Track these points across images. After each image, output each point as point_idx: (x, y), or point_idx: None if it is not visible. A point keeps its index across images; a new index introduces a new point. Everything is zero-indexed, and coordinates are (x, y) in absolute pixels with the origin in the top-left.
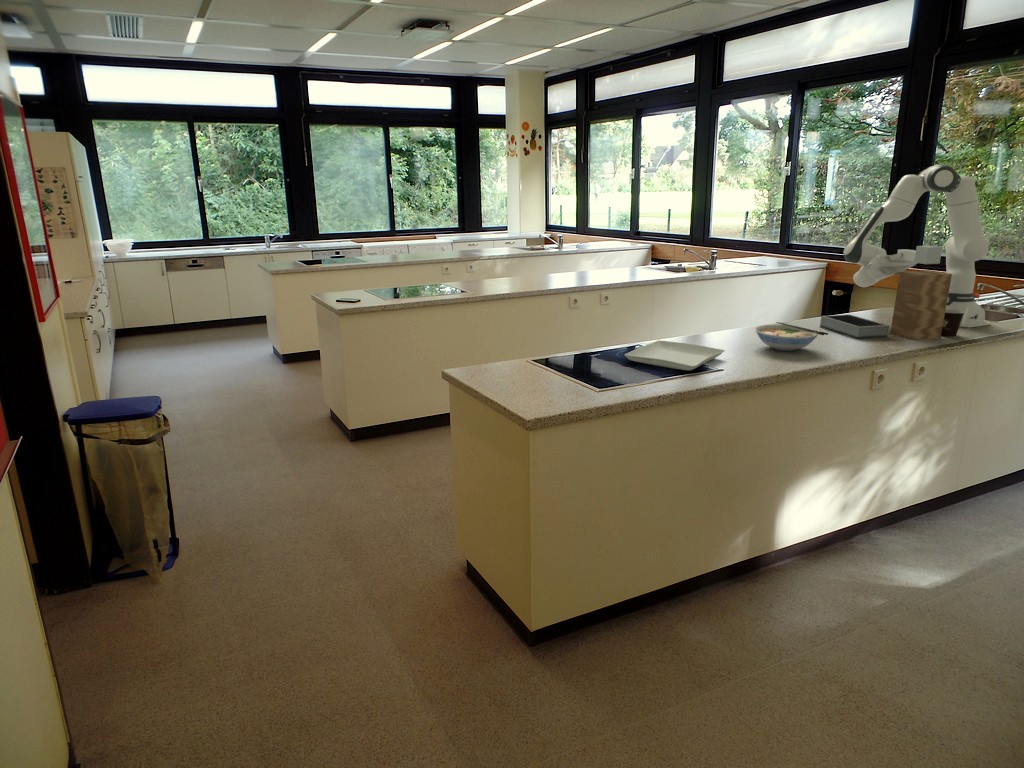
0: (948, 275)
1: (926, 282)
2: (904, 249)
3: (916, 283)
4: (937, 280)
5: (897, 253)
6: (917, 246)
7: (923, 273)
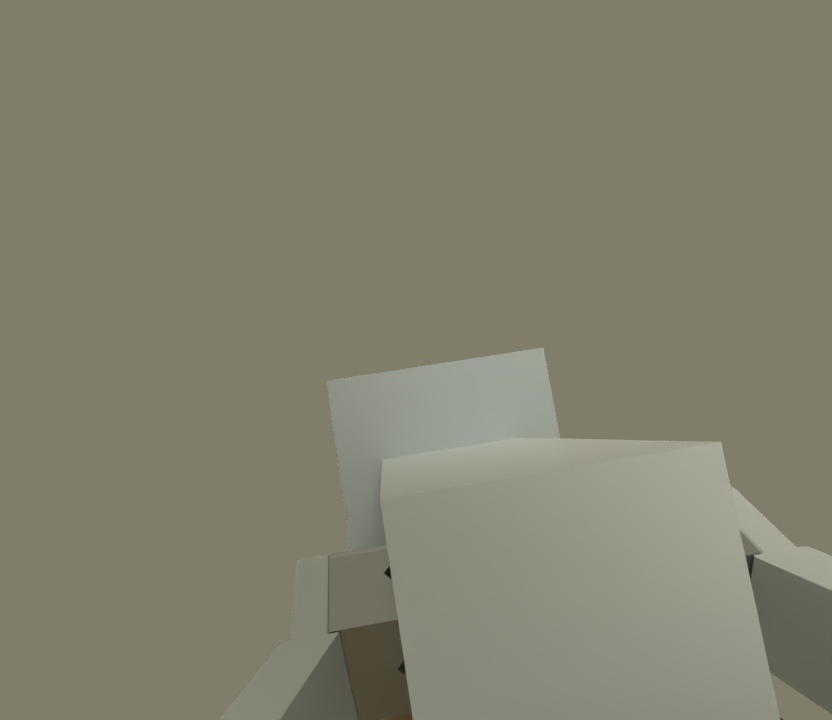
0: None
1: None
2: (472, 481)
3: None
4: None
5: (747, 579)
6: (539, 353)
7: None
